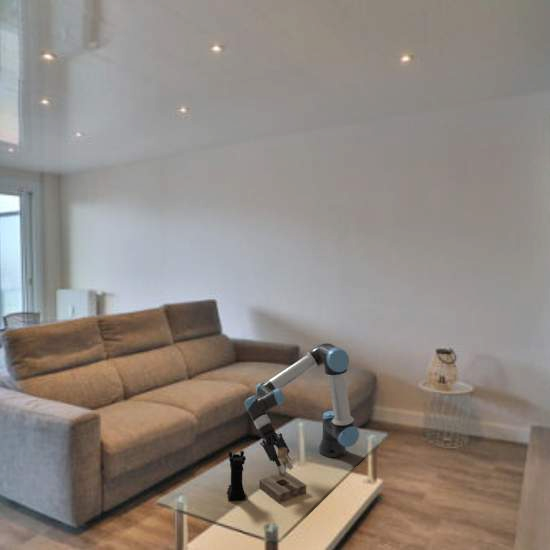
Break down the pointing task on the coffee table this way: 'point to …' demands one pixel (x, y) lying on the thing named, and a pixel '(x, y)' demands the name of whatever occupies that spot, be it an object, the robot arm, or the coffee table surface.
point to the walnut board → (282, 487)
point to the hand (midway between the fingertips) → (288, 470)
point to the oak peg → (282, 459)
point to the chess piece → (236, 477)
